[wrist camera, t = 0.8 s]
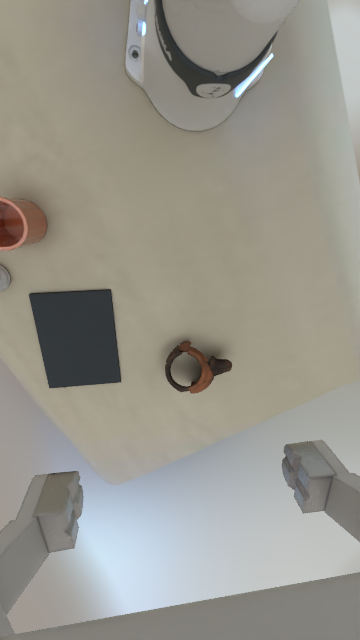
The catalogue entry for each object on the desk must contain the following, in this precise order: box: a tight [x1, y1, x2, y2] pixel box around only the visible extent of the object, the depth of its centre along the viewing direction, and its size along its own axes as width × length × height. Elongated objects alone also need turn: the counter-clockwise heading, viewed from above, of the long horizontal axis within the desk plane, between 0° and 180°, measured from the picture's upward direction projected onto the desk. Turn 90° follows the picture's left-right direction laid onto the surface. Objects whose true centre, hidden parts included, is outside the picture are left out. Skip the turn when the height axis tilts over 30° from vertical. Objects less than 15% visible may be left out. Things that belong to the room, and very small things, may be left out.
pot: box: [0, 197, 47, 250], centre depth 39 cm, size 6×6×8 cm
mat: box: [29, 290, 121, 388], centre depth 50 cm, size 18×13×1 cm
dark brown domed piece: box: [165, 342, 232, 393], centre depth 52 cm, size 12×9×8 cm
